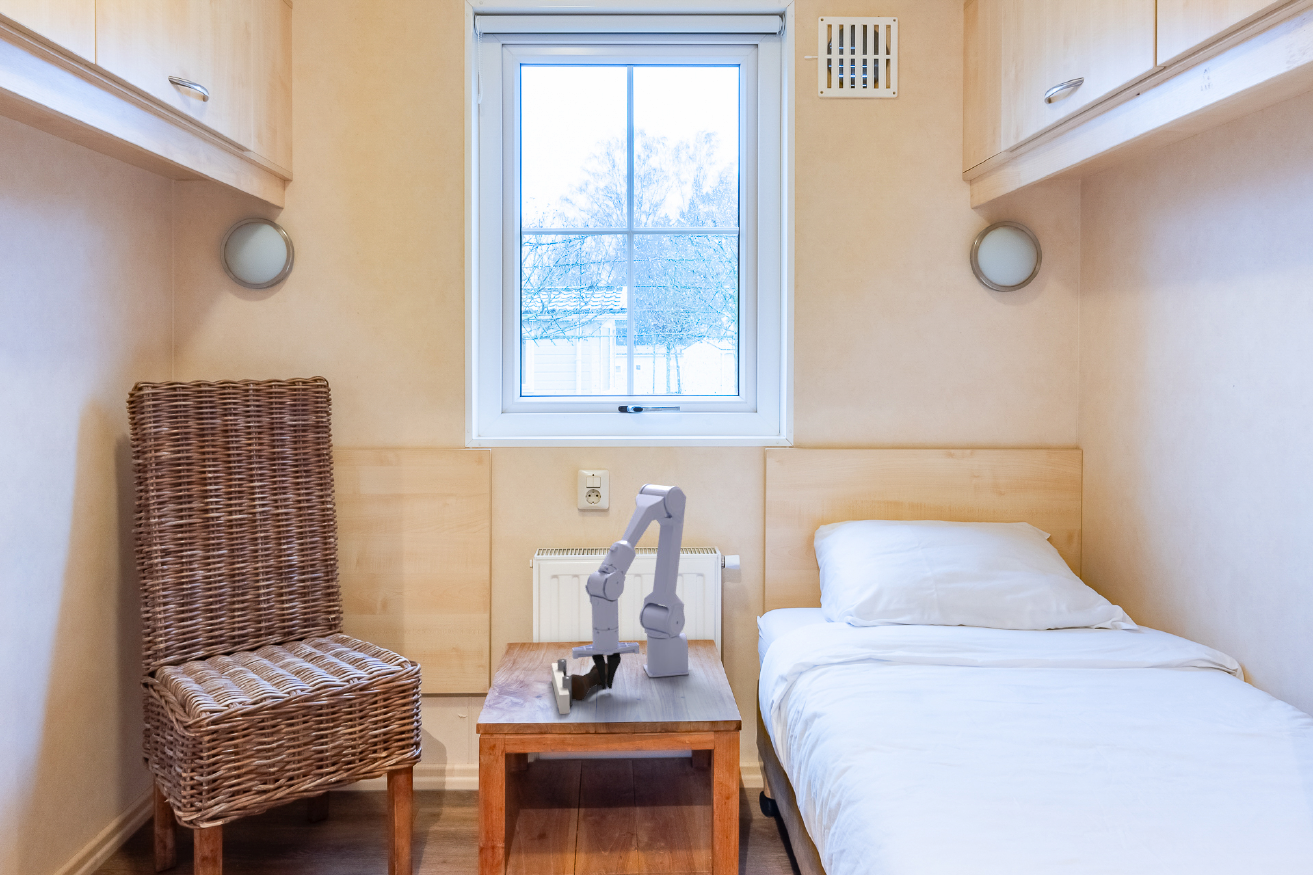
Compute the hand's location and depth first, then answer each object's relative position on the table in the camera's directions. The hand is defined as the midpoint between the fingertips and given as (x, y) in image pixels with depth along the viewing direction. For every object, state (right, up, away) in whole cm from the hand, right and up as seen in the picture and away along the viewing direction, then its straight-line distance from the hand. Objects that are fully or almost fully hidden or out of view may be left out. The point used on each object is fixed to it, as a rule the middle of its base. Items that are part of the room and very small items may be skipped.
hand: (606, 687), depth 180 cm
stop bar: (-10, -2, -1) cm, 10 cm away
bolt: (-3, -2, +3) cm, 5 cm away
